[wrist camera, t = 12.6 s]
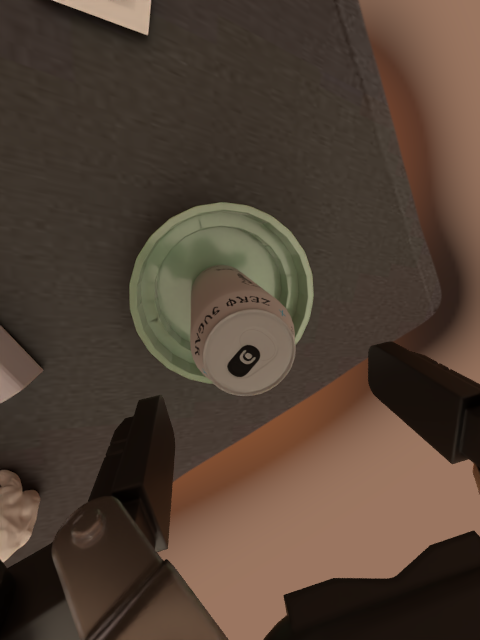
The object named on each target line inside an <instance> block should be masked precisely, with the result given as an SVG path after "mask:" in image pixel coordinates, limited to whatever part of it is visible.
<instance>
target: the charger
mask: <svg viewBox="0 0 480 640" xmlns="http://www.w3.org/2000/svg"><path fill="white" fill-rule="evenodd" d="M42 371H43V369H42V368H41V367H40V366H39V365H38V364H37V363H36V362H35V361H34V360H33V359H32V357H31V356H30V355H29V354H28V353H27V352H26V351H25V350H24V349H23V348H22V347H21V346H20V345H19V344H18V343H17V342H16V341H15V340H14V339H13V338H12V337H11V336H10V335H9V334H8V333H7V331H6V330H5V329H4V328H3V327H2V326H1V325H0V403H2V402H4V401H5V400H7V399H9V398H10V397H12V396H14V395H15V394H17V393H18V392H20V391H21V390H22V389H24V388H25V387H26V386H27V385H28V384H29V383H30V382H32V381H33V380H34V379H35V378H36V377H37V376H38V375H39V374H40V373H41V372H42Z"/></svg>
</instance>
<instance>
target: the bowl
mask: <svg viewBox="0 0 480 640" xmlns="http://www.w3.org/2000/svg"><path fill="white" fill-rule="evenodd" d="M216 265H227V266H231V267H234V268H236V269H237V270H239V271H240V272H242V273H243V274H244V275H246V276H247V277H248V278H250V279H251V280H252V281H253V282H255V283H256V284H257V285H259V286H260V287H261V288H263V289H264V290H265V291H266V292H268V293H269V294H270V295H272V296H273V297H274V298H276V299H277V300H278V301H279V302H280V303H281V304H282V305H283V306H284V307H285V308H286V309H287V311H288V313H289V314H290V316H291V319H292V322H293V325H294V331H295V345H296V344H297V342H298V341H299V340H300V338H301V336H302V334H303V332H304V330H305V328H306V326H307V323H308V321H309V318H310V314H311V309H312V303H313V298H314V293H313V277H312V272H311V269H310V266H309V263H308V260H307V257H306V254H305V252H304V250H303V249H302V247H301V246H300V244H299V243H298V241H297V240H296V238H295V237H294V235H293V234H292V233H291V231H290V230H288V229H287V228H286V227H285V226H284V225H282V224H281V223H280V222H279V221H278V220H276V219H275V218H274V217H273V216H271V215H269V214H267V213H264V212H262V211H260V210H258V209H256V208H253V207H251V206H248V205H241V204H234V203H227V202H219V203H212V204H206V205H199V206H195V207H192V208H190V209H188V210H186V211H184V212H182V213H180V214H178V215H175V216H173V217H171V218H170V219H169V220H168V221H166V222H165V223H164V224H163V225H162V226H161V227H160V228H159V229H157V230H156V231H155V232H154V233H153V234H152V235H151V236H150V237H149V239H148V240H147V242H146V244H145V245H144V247H143V248H142V250H141V252H140V253H139V255H138V257H137V259H136V261H135V265H134V268H133V272H132V276H131V279H130V284H129V295H130V312H131V315H132V318H133V321H134V325H135V328H136V331H137V333H138V335H139V336H140V338H141V339H142V341H143V343H144V344H145V346H146V347H147V349H148V350H149V352H150V353H151V354H152V355H153V356H154V357H156V358H157V359H158V360H159V361H160V362H161V363H162V364H163V365H164V366H165V367H167V368H168V369H170V370H172V371H174V372H176V373H178V374H180V375H182V376H184V377H186V378H188V379H192V380H196V381H200V382H204V383H213V382H212V381H211V380H209V379H208V378H207V377H206V376H204V375H203V374H202V372H201V371H200V370H199V369H198V368H197V366H196V364H195V362H194V360H193V357H192V353H191V345H190V327H191V291H192V286H193V283H194V281H195V279H196V278H197V276H198V275H199V274H200V273H201V272H202V271H204V270H205V269H207V268H209V267H212V266H216Z"/></svg>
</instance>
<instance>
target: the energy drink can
mask: <svg viewBox="0 0 480 640" xmlns="http://www.w3.org/2000/svg"><path fill="white" fill-rule="evenodd" d="M190 345H191V353H192V357H193V360H194V362H195V364H196V366H197V368H198V369H199V370H200V371H201V372H202V374H203V375H204V376H206V377H207V378H208V379H209V380H211V381H212V382H213V384H215V385H216V386H217V387H218V388H220V389H221V390H223V391H225V392H227V393H230V394H233V395H238V396H253V395H257V394H261V393H263V392H266V391H268V390H270V389H272V388H273V387H275V386H276V385H278V384H279V383H280V382H281V381H282V380H283V379H284V378H285V376H286V375H287V374H288V372H289V370H290V369H291V367H292V365H293V361H294V358H295V350H296V347H295V331H294V325H293V322H292V319H291V316H290V314H289V313H288V311H287V309H286V308H285V307H284V306H283V305H282V304H281V303H280V302H279V301H278V300H277V299H276V298H274V297H273V296H272V295H270V294H269V293H268V292H266V291H265V290H264V289H263V288H261V287H260V286H259V285H257V284H256V283H255V282H253V281H252V280H251V279H250V278H248V277H247V276H246V275H244V274H243V273H242V272H240V271H239V270H237V269H236V268H234V267H231V266H227V265H216V266H212V267H209V268H207V269H205V270H204V271H202V272H201V273H200V274H199V275H198V276H197V278H196V279H195V281H194V283H193V286H192V291H191V327H190Z"/></svg>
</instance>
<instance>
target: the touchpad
mask: <svg viewBox="0 0 480 640" xmlns="http://www.w3.org/2000/svg"><path fill="white" fill-rule="evenodd" d="M53 1H55V2H58V3H61V4H63V5H66V6H69V7H72V8H74V9H77V10H80V11H83V12H85V13H88V14H91V15H93V16H96V17H99V18H102V19H104V20H107V21H110V22H112V23H115V24H118V25H121V26H123V27H126V28H129V29H131V30H134V31H137V32H140V33H142V34H145V35H148V31H149V19H150V8H151V0H53Z"/></svg>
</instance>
